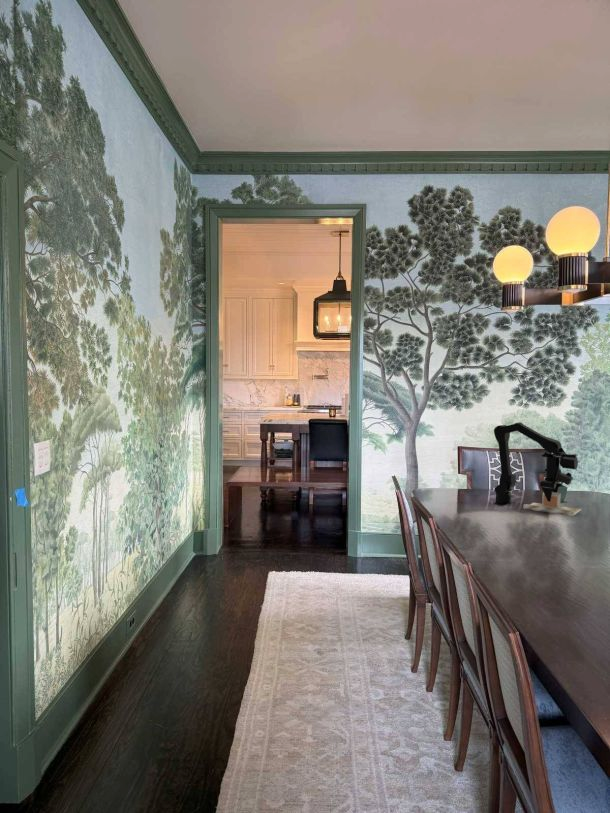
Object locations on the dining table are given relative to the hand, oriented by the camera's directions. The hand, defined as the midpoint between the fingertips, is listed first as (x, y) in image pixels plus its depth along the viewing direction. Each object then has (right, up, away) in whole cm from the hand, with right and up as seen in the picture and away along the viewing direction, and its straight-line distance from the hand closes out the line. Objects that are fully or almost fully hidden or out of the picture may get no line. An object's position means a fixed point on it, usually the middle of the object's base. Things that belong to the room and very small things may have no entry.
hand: (551, 499), depth 258 cm
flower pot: (+11, -5, +20) cm, 23 cm away
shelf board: (+1, -6, +2) cm, 6 cm away
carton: (0, -5, 0) cm, 5 cm away
